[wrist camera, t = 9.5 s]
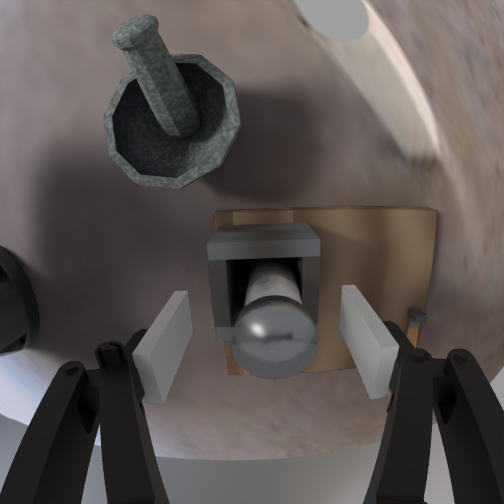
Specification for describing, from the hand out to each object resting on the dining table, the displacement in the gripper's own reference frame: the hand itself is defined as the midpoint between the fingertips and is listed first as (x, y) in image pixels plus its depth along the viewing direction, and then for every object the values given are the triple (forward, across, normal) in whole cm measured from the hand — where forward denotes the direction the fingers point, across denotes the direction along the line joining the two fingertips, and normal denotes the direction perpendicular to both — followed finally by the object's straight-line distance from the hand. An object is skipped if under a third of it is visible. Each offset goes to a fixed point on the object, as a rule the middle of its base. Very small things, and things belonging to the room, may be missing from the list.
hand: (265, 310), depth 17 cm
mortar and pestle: (+11, -6, +12) cm, 17 cm away
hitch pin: (+10, +1, 0) cm, 10 cm away
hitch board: (+10, +6, -4) cm, 13 cm away
